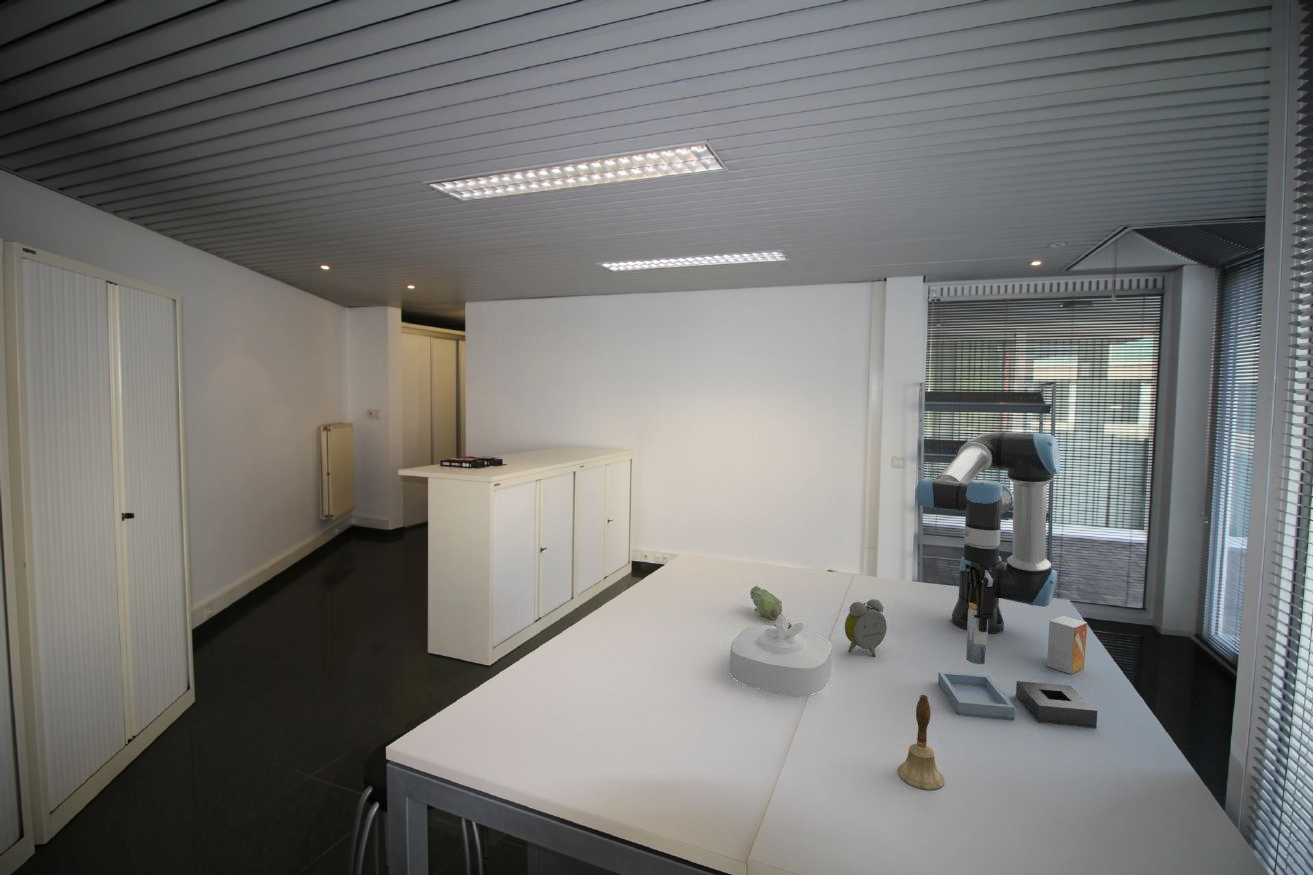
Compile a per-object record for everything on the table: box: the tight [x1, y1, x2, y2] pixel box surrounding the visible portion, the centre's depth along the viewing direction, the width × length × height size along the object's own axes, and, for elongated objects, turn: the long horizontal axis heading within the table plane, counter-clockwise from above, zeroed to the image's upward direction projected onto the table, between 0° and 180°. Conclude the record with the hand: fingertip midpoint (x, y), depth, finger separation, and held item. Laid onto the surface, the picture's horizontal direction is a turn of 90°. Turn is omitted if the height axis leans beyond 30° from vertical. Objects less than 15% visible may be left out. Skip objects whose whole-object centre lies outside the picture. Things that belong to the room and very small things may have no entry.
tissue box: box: [729, 612, 833, 697], centre depth 160 cm, size 25×25×16 cm
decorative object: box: [749, 585, 793, 629], centre depth 199 cm, size 9×10×25 cm
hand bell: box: [897, 694, 945, 791], centre depth 115 cm, size 8×8×16 cm
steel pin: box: [965, 601, 987, 665], centre depth 145 cm, size 4×4×14 cm
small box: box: [1046, 615, 1088, 675], centre depth 165 cm, size 8×6×13 cm
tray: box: [937, 671, 1016, 721], centre depth 146 cm, size 16×12×3 cm
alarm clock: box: [844, 598, 888, 657], centre depth 172 cm, size 12×7×15 cm, turn 112°
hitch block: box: [1015, 680, 1098, 729], centre depth 141 cm, size 12×12×4 cm
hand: (976, 639), depth 145 cm, fingers closed on steel pin, 4 cm apart
